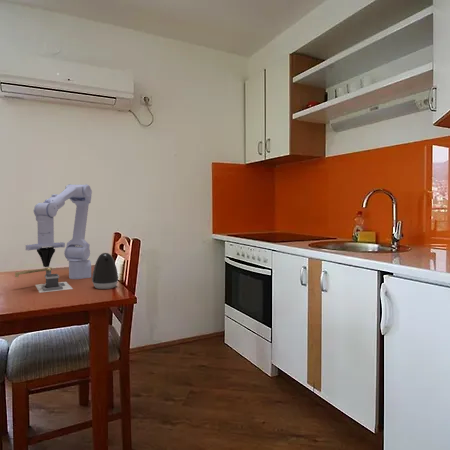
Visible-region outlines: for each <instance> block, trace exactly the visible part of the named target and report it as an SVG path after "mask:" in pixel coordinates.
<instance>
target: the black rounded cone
mask: <svg viewBox="0 0 450 450" xmlns="http://www.w3.org/2000/svg"><path fill="white" fill-rule="evenodd" d="M115 262H116V261H115V259H114V258H113V256H112V254H110V253H108V252H103V253H101V254H99V255H98V257H97V259H96V261H95V263H94V268H93V271H92V276H91V278H92V279H91V282H92V284H93V286H94V288H95V289H98V290H111V289H114V288H116V286H117V284H118V281H119V274H118V268H117V265H116V263H115Z"/></svg>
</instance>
